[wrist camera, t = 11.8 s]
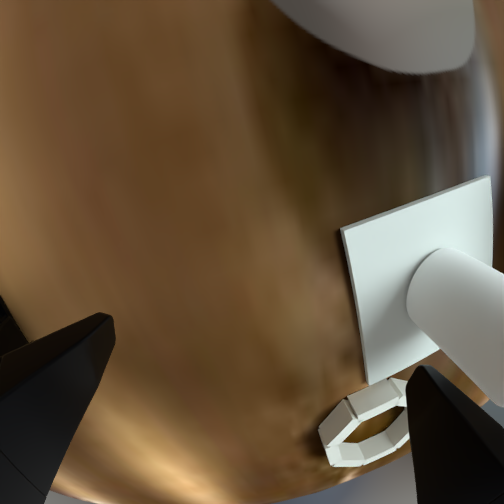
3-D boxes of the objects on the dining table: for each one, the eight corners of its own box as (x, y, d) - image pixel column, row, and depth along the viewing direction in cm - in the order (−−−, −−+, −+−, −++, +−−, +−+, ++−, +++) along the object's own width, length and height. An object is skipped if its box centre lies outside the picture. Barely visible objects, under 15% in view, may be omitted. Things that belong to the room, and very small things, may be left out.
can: (457, 310, 21) (550, 390, 10) (398, 332, 21) (493, 440, 10) (467, 239, 19) (587, 303, 8) (405, 253, 19) (541, 348, 8)
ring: (327, 460, 27) (334, 477, 25) (311, 410, 23) (319, 431, 21) (412, 421, 27) (421, 436, 25) (416, 362, 23) (430, 378, 21)
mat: (366, 381, 23) (369, 386, 22) (340, 228, 18) (343, 230, 18) (483, 315, 23) (486, 318, 23) (485, 174, 18) (490, 175, 18)
